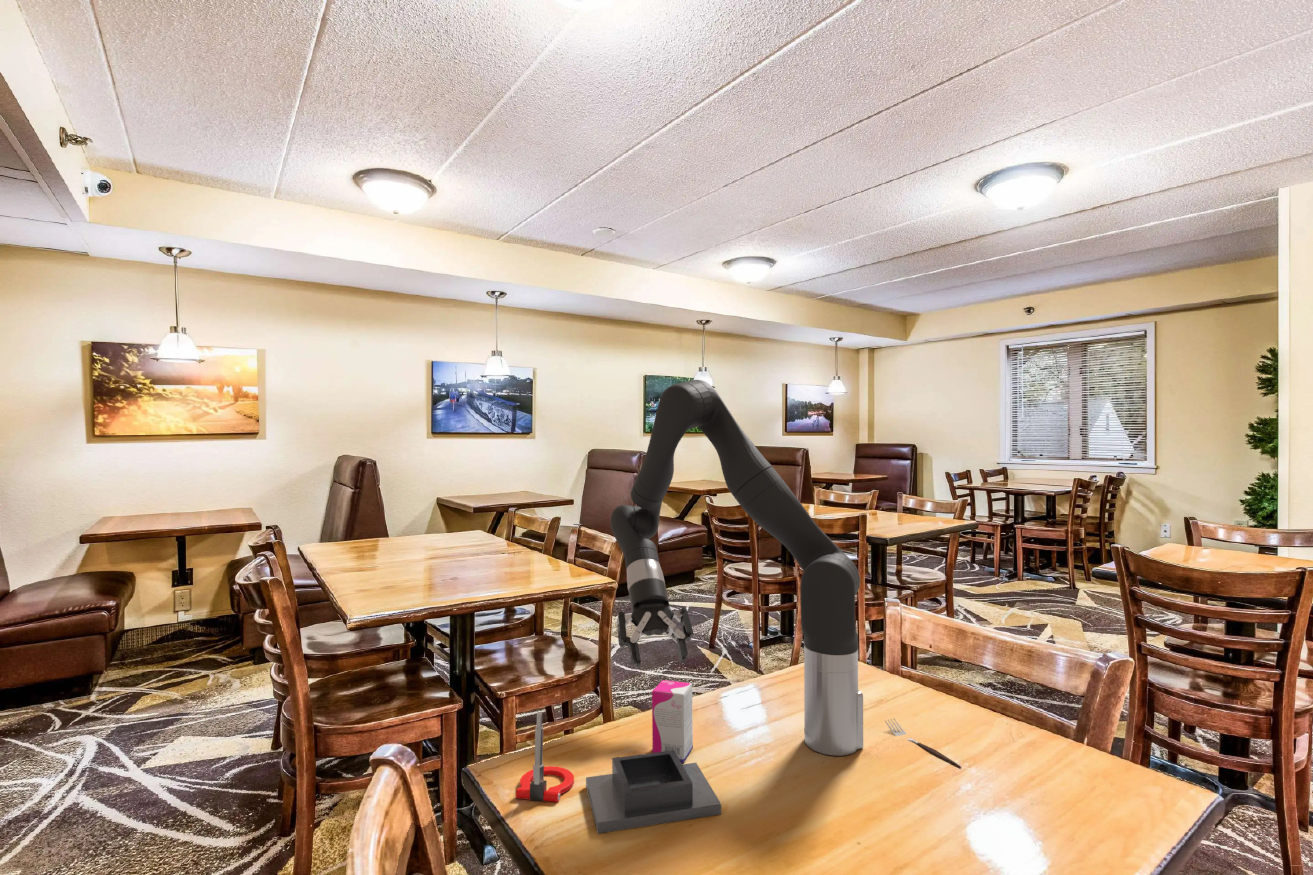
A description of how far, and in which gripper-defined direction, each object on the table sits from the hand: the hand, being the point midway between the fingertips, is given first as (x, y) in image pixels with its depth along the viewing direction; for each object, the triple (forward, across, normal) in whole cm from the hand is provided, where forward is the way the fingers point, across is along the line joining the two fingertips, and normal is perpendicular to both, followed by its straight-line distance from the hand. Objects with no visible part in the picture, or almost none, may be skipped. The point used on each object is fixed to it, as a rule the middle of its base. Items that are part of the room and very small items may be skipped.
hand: (660, 662), depth 118 cm
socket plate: (+24, -7, -6) cm, 26 cm away
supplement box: (+15, 0, +3) cm, 15 cm away
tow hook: (+19, -22, 0) cm, 29 cm away
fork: (+22, +43, -3) cm, 48 cm away
